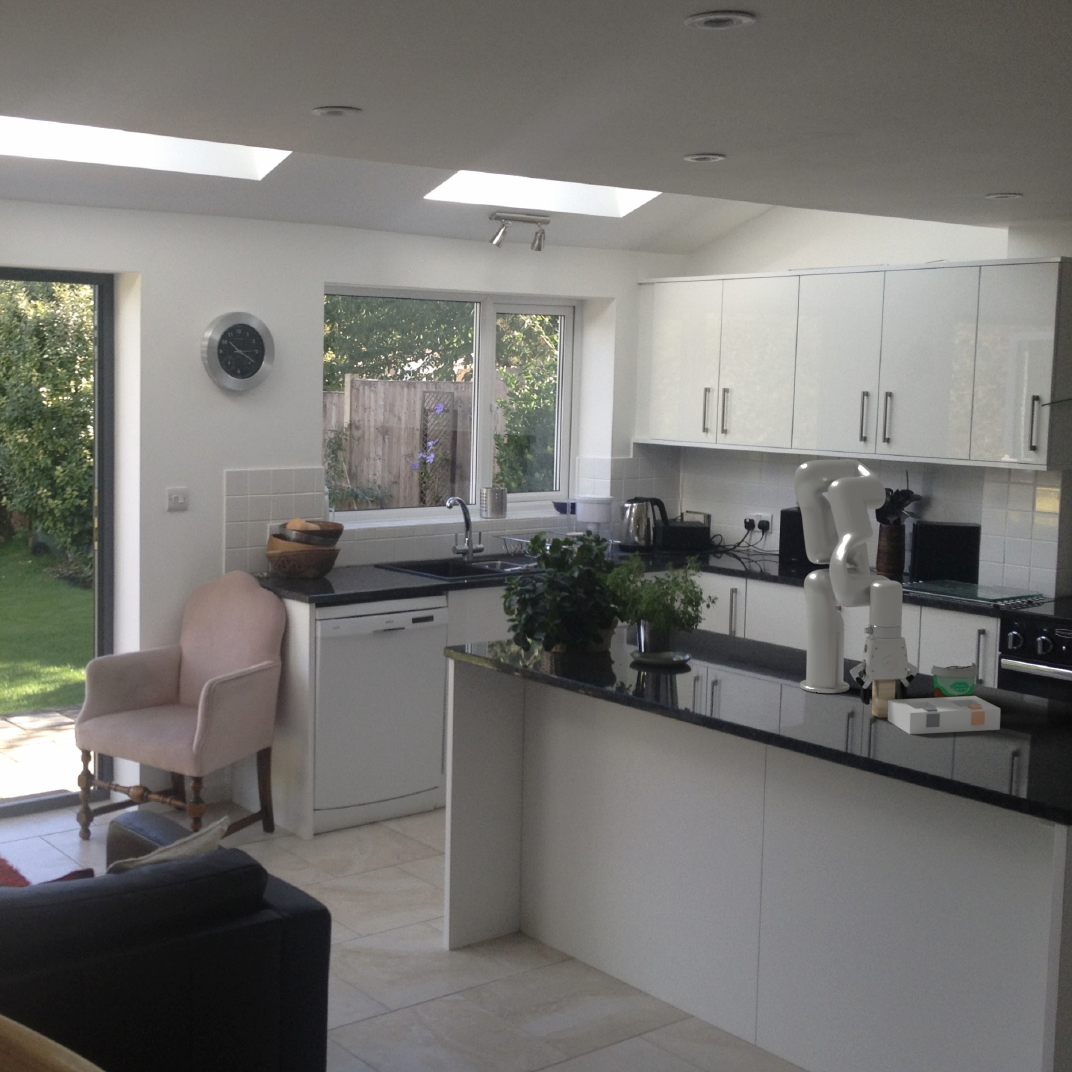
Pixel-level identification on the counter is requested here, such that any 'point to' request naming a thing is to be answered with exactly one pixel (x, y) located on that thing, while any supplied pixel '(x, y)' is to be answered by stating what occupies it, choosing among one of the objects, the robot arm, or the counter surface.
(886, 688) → the plug
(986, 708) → the socket block
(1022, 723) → the counter surface
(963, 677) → the food container
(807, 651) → the robot arm
